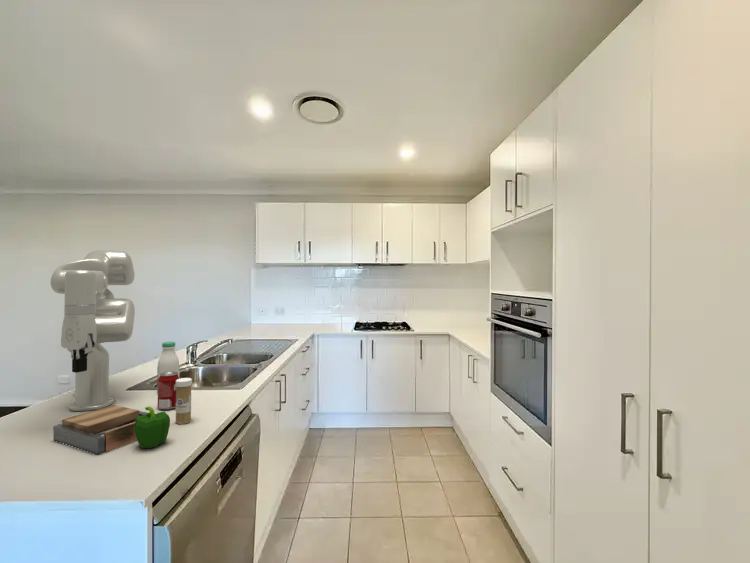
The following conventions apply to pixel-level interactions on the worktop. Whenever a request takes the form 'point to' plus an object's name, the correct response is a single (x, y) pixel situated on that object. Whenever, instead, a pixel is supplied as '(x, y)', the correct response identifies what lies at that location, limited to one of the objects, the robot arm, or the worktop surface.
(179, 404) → the sprinkles bottle
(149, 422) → the bell pepper
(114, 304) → the robot arm
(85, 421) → the slab
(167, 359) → the milk bottle
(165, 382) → the soda can
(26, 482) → the worktop surface
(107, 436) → the roller track
